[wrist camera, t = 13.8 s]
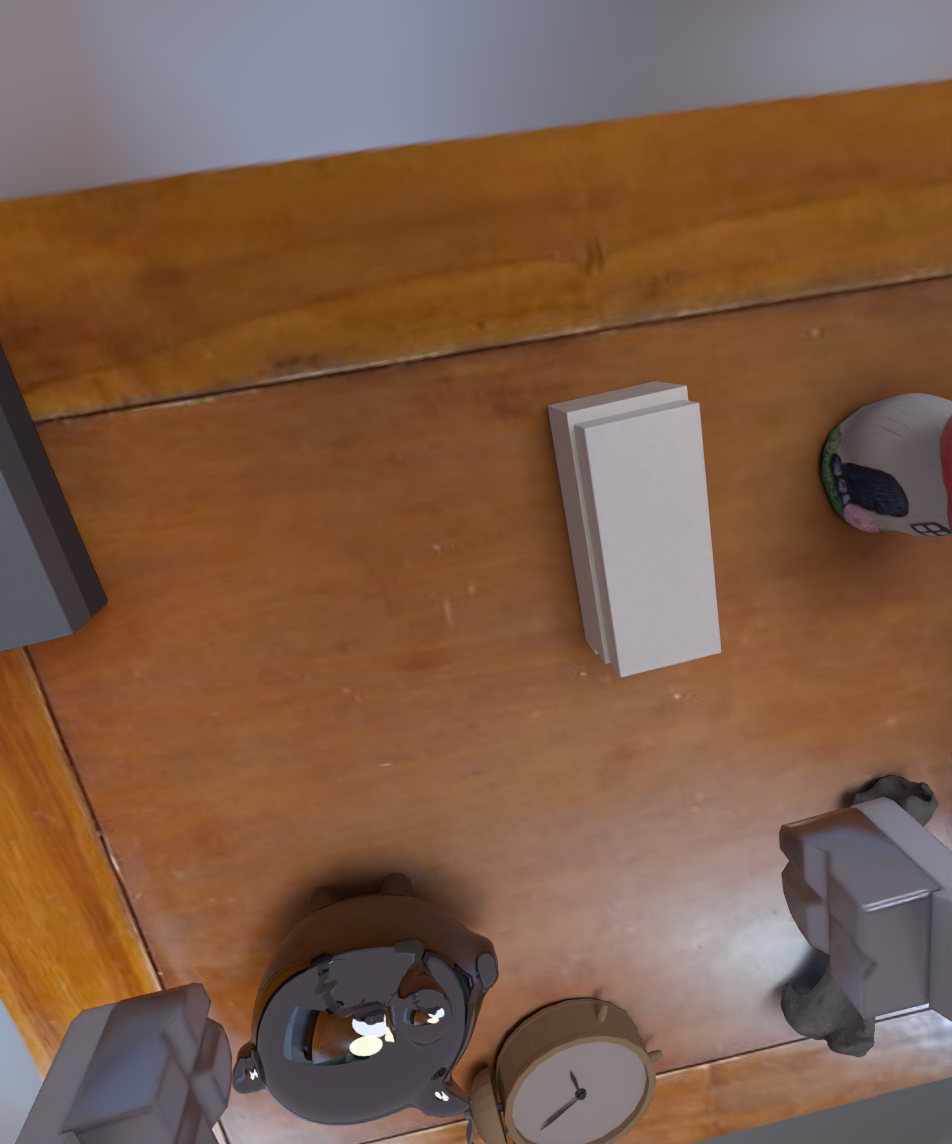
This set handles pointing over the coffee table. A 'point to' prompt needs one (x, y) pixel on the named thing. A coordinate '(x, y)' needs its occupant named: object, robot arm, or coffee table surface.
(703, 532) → the pale grey rectangular block
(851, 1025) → the bone
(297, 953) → the piggy bank
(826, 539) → the coffee table surface
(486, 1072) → the alarm clock
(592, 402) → the grey oblong block
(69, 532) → the dark grey box
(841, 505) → the decorative ornament
